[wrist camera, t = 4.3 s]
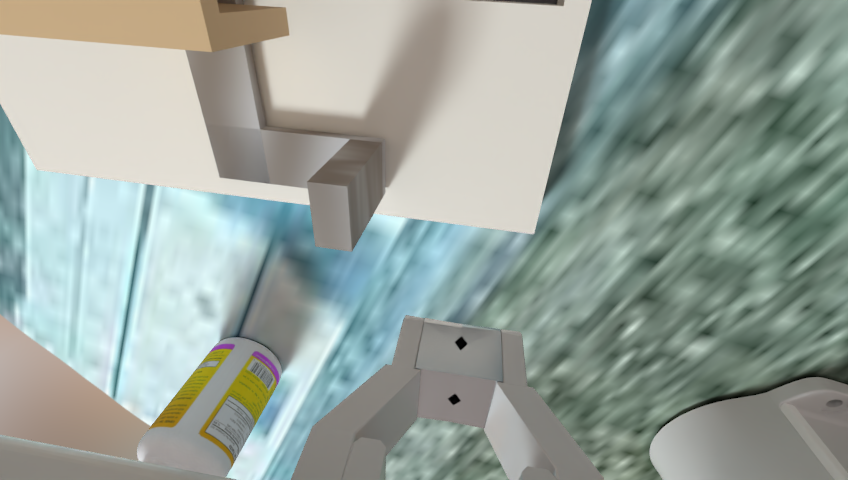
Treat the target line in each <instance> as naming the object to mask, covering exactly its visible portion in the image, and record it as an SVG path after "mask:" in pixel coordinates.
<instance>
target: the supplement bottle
mask: <svg viewBox="0 0 848 480" xmlns="http://www.w3.org/2000/svg"><path fill="white" fill-rule="evenodd" d="M281 375H282V369H281V365H280V362H279V360H278V359H277V357H276V356H275V355H274V354H273V353H272V352H271V351H270V350H269V349H267V348H266V347H265V346H263V345H261V344H259V343H257V342H255V341H252V340H249V339H245V338H239V337H232V338H227V339H224V340H222V341H220V342H219V343H217V344H216V345H215V346H214V348H213V349H212V350H211V351H210V352H209V354H208V355H207V356H206V357H205V359H204V360H203V361H202V363H201V364H200V365H199V366H198V368H197V369H196V370H195V371H194V373H193V374H192V375H191V376H190V378H189V379H188V380H187V382H186V383H185V384H184V385H183V387H182V388H181V389H180V390H179V392H178V393H177V394H176V395H175V397H174V398H173V399H172V401H171V402H170V403H169V404H168V406H167V407H166V408H165V409H164V411H163V412H162V413H161V414H160V416H159V417H158V418H157V419H156V421H155V422H154V423H153V424H152V426H151V427H150V428H149V430H148V431H147V432H146V433H145V435H144V436H143V437H142V439H141V441H140V442H139V445H138V448H137V456H138V459H139V461H141V462H146V463H151V464H157V465H162V466H167V467H172V468H178V469H183V470H188V471H194V472H199V473H204V474H209V475H215V476H220V477H226V476H227V474H228V472H229V471H230V469H231V467H232V466H233V464H234V462H235V460H236V458H237V456H238V455H239V453H240V451H241V449H242V447H243V446H244V444H245V442H246V440H247V438H248V437H249V435H250V433H251V431H252V429H253V428H254V426H255V424H256V422H257V421H258V419H259V417H260V415H261V413H262V411H263V410H264V408H265V406H266V404H267V403H268V401H269V399H270V397H271V395H272V394H273V392H274V390H275V388H276V386H277V384H278V382H279V380H280V378H281Z"/></svg>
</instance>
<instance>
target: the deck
mask: <svg viewBox="0 0 848 480" xmlns="http://www.w3.org/2000/svg"><path fill="white" fill-rule="evenodd" d="M243 2H244V5H241V4H226V3H218V2H217V0H0V104H1V106H2V108H3V109H4V111H5V113H6V115H7V117H8V118H9V120H10V122H11V124H12V126H13V127H14V129H15V131H16V133H17V135H18V136H19V138H20V140H21V142H22V144H23V146H24V147H25V149H26V151H27V153H28V155H29V156H30V158H31V160H32V162H33V164H34V165H35V167H36V169H37V170H42V171H49V172H57V173H65V174H73V175H80V176H88V177H96V178H104V179H111V180H119V181H127V182H134V183H142V184H150V185H158V186H165V187H173V188H181V189H188V190H196V191H204V192H212V193H219V194H227V195H235V196H243V197H250V198H258V199H266V200H273V201H281V202H289V203H297V204H304V205H310V201H309V194H308V189H307V188H299V187H291V186H283V185H275V184H267V183H259V182H251V181H243V180H235V179H227V178H220V177H219V173H218V169H217V166H216V162H215V158H214V154H213V151H212V147H211V143H210V140H209V136H208V132H207V128H206V125H205V121H204V117H203V114H202V110H201V106H200V103H199V99H198V95H197V91H196V88H195V84H194V80H193V77H192V73H191V69H190V66H189V62H188V58H187V54H186V51H185V50H192V51H204V52H215V51H220V50H224V49H229V48H234V47H238V46H243V45H247V44H251V46H252V51H253V57H254V62H255V68H256V73H257V79H258V84H259V90H260V95H261V101H262V106H263V112H264V117H265V122H266V126H271V127H280V128H290V129H299V130H309V131H318V132H328V133H337V134H346V135H356V136H365V137H375V138H384V139H385V191H386V193H385V195H384V196H383V198H382V200H381V202H380V203H379V205H378V207H377V209H376V210H375V212H374V214H382V215H389V216H397V217H405V218H412V219H420V220H428V221H436V222H443V223H451V224H459V225H467V226H474V227H482V228H490V229H497V230H505V231H513V232H521V233H528V234H534V232H535V228H536V224H537V220H538V216H539V212H540V208H541V204H542V200H543V196H544V192H545V188H546V184H547V180H548V175H549V171H550V167H551V163H552V159H553V155H554V151H555V147H556V143H557V139H558V135H559V131H560V127H561V123H562V119H563V115H564V111H565V107H566V103H567V99H568V95H569V91H570V87H571V83H572V79H573V75H574V71H575V67H576V62H577V58H578V54H579V50H580V46H581V42H582V38H583V34H584V30H585V26H586V22H587V18H588V14H589V10H590V6H591V2H592V0H243Z"/></svg>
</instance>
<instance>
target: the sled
mask: <svg viewBox="0 0 848 480" xmlns="http://www.w3.org/2000/svg"><path fill="white" fill-rule="evenodd" d="M217 2H218V3H226V4H241V5H244V2H243V0H217ZM185 51H186V54H187V58H188V62H189V66H190V69H191V73H192V77H193V80H194V84H195V88H196V91H197V95H198V99H199V103H200V106H201V110H202V114H203V117H204V121H205V125H206V128H207V132H208V136H209V140H210V143H211V147H212V151H213V154H214V158H215V162H216V166H217V169H218V173H219V177H220V178H227V179H235V180H243V181H251V182H259V183H267V184H275V185H283V186H291V187H299V188H307V189H308V194H309V201H310V209H311V216H312V224H313V231H314V239H315V246H316V247H323V248H330V249H337V250H344V251H351V252H352V250H353V249H354V247H355V245H356V243H357V242H358V240H359V238H360V237H361V235H362V233H363V231H364V230H365V228H366V226H367V224H368V223H369V221H370V219H371V217H372V216H373V214H374V212H375V210H376V209H377V207H378V205H379V203H380V202H381V200H382V198H383V196H384V195H385V193H386V191H385V139H384V138H375V137H365V136H356V135H346V134H337V133H328V132H318V131H309V130H299V129H290V128H280V127H271V126H266V122H265V117H264V112H263V106H262V101H261V95H260V90H259V84H258V79H257V73H256V68H255V62H254V57H253V51H252V46H251V44H247V45H243V46H238V47H234V48H229V49H224V50H220V51H215V52H204V51H192V50H185Z"/></svg>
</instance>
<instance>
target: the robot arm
mask: <svg viewBox="0 0 848 480" xmlns="http://www.w3.org/2000/svg"><path fill="white" fill-rule="evenodd" d="M417 417H421V418H428V419H435V420H442V421H449V422H450V421H451V422H455V423H460V424H465V425H470V426H475V427H480V428H485V429H484V431H485V433H486V435H487V437H488V439H489V441H490V443H491V445H492V447H493V449H494V451H495V453H496V455H497V457H498V459H499V461H500V463H501V465H502V467H503V468H504V470H505V472H506V474H507V476H508V478H509V480H604V478H603V476H602V475H601V474H600V473H599V471H598V470H597V469H596V467H595V466H594V465H593V464H592V462H591V461H590V460H589V458H588V457H587V456H586V455H585V453H584V452H583V451H582V449H581V448H580V447H579V446H578V444H577V443H576V442H575V440H574V439H573V438H572V437H571V435H570V434H569V433H568V431H567V430H566V429H565V428H564V426H563V425H562V424H561V422H560V421H559V420H558V419H557V417H556V416H555V415H554V413H553V412H552V411H551V410H550V408H549V407H548V406H547V404H546V403H545V402H544V401H543V399H542V398H541V397H540V395H539V394H538V393H537V392H536V390H535V389H534V388H532V387H527V378H526V368H525V359H524V349H523V340H522V334H521V333H520V332H517V331H509V330H502V329H501V330H500V329H495V328H487V327H480V326H473V325H465V324H457V323H451V322H445V321H439V320H434V319H428V318H420V317H414V316H408V315H406V316H405V318H404V320H403V324H402V327H401V331H400V335H399V339H398V343H397V347H396V351H395V355H394V358H393V362H392V365H387V364H386V365H385V366H384V367H382V368H381V369H380V370H379V371H378V372H376V373H375V374H374V375H373V376H372V377H371V378H369V379H368V380H367V381H366V382H365V383H363V384H362V385H361V386H360V387H359V388H357V389H356V390H355V391H354V392H353V393H352V394H350V395H349V396H348V397H347V398H346V399H344V400H343V401H342V402H341V403H340V404H339V405H337V406H336V407H335V408H334V409H333V410H331V411H330V412H329V413H328V414H327V415H326V416H324V417H323V418H322V419H321V420H320V421H318V422H317V423H316V424H315V425H314V426H313V427H312V429H311V432H310V434H309V437H308V439H307V441H306V444H305V446H304V449H303V451H302V454H301V456H300V459H299V461H298V463H297V466H296V468H295V471H294V473H293V476H292V478H291V480H385V472H386V456H387V454H388V453H389V452H390V451H391V450H392V448H393V447H394V446H395V445H396V443H397V442H398V441H399V440H400V439H401V437H402V436H403V435H404V434H405V433H406V431H407V430H408V429H409V428H410V427H411V425H412V424H413V423H414V422H415V420H416V419H417ZM650 459H651V461H652V464H653V465H654V467H655V468H656V470H657V471H658V473H659V474H660V476H661V477H662V479H663V480H848V385H847V384H844V383H840V382H837V381H834V380H830V379H827V378H822V377H810V378H805V379H801V380H797V381H794V382H791V383H789V384H786V385H783V386H781V387H778V388H776V389H773V390H771V391H769V392H766V393H762V394H758V395H753V396H747V397H741V398H735V399H729V400H724V401H720V402H716V403H712V404H708V405H705V406H702V407H699V408H696V409H694V410H691V411H689V412H687V413H685V414H683V415H681V416H679V417H677V418H675V419H674V420H672V421H671V422H669V423H668V424H667V425H665V426H664V427H663V428H662V429H661V430H660V431H659V432H658V433H657V434H656V436H655V437H654V439H653V441H652V443H651V446H650ZM0 480H236V479H231V478H225V477H220V476H215V475H209V474H204V473H199V472H194V471H188V470H183V469H178V468H172V467H167V466H162V465H157V464H151V463H146V462H141V461H135V460H130V459H125V458H120V457H114V456H109V455H104V454H98V453H93V452H88V451H82V450H77V449H72V448H67V447H61V446H56V445H51V444H45V443H40V442H35V441H30V440H25V439H19V438H14V437H9V436H3V435H0Z"/></svg>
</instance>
